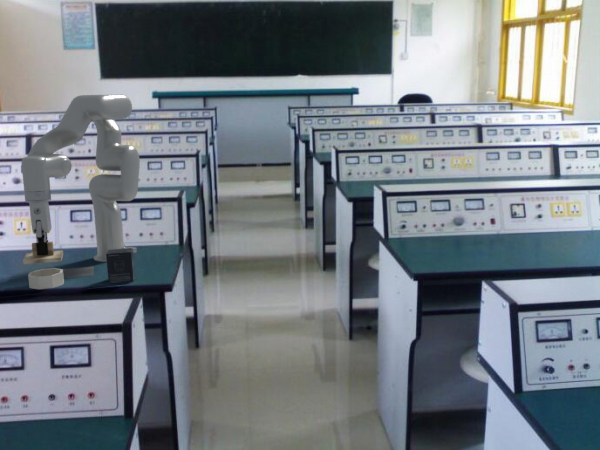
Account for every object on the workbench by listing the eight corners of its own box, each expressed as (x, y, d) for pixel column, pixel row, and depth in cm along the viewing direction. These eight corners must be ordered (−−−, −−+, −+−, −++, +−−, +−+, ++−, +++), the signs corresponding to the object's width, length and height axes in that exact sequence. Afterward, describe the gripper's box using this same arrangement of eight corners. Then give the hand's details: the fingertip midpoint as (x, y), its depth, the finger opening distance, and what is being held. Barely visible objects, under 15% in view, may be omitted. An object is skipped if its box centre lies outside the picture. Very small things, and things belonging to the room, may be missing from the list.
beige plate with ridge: (63, 253, 202) (62, 238, 201) (61, 261, 192) (59, 245, 191) (27, 256, 199) (25, 240, 198) (22, 264, 189) (21, 247, 188)
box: (135, 278, 204) (132, 247, 202) (133, 283, 199) (131, 251, 197) (110, 280, 203) (108, 248, 201) (108, 285, 197) (105, 253, 195)
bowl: (64, 280, 204) (63, 267, 203) (62, 288, 194) (61, 274, 193) (32, 283, 201) (30, 270, 200) (28, 292, 191) (27, 278, 190)
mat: (94, 267, 218) (94, 266, 218) (93, 276, 207) (93, 275, 207) (57, 271, 215) (57, 269, 215) (55, 280, 204) (55, 278, 204)
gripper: (48, 199, 185) (54, 258, 189) (52, 192, 200) (57, 247, 204) (21, 200, 183) (27, 260, 187) (27, 193, 198) (33, 249, 202)
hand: (43, 253), depth 195 cm, fingers closed on beige plate with ridge
